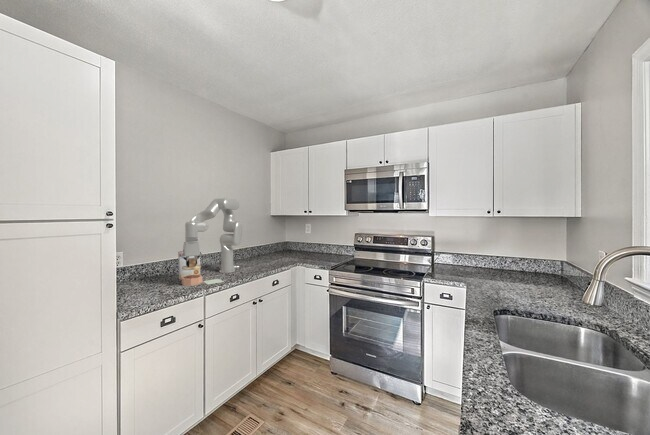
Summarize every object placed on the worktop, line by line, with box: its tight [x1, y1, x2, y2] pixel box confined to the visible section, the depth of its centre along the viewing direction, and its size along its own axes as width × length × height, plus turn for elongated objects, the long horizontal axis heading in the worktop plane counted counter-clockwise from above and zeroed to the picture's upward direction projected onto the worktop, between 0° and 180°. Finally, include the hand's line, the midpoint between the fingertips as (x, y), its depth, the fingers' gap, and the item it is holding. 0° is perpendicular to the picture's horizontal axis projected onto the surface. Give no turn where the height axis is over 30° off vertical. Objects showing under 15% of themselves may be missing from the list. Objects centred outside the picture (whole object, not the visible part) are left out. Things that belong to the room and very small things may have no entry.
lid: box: [182, 258, 202, 270], centre depth 185 cm, size 12×12×6 cm
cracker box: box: [177, 250, 201, 281], centre depth 201 cm, size 14×6×21 cm, turn 129°
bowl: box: [181, 274, 203, 287], centre depth 186 cm, size 12×12×5 cm
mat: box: [202, 278, 225, 285], centre depth 190 cm, size 11×11×1 cm
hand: (191, 265), depth 185 cm, fingers closed on lid, 4 cm apart
